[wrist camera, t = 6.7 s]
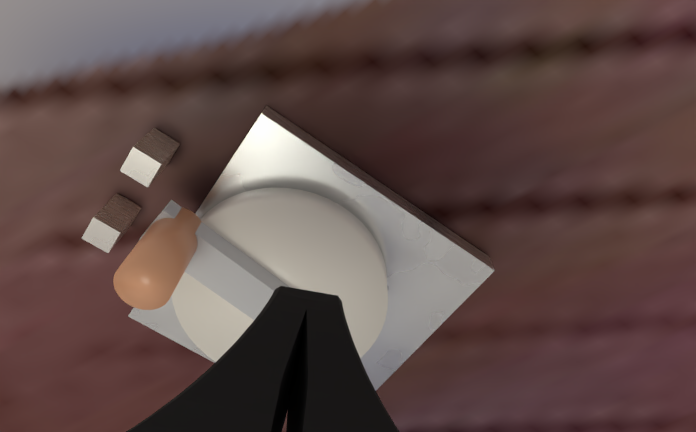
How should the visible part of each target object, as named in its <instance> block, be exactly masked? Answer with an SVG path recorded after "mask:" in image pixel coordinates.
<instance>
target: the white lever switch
mask: <svg viewBox="0 0 696 432" xmlns="http://www.w3.org/2000/svg"><path fill="white" fill-rule="evenodd" d="M113 281H114V288H115V290H116V292H117V294H118V295H119V297H120V298H121V299H122V300H123V301H124V302H126V303H127V304H129V305H130V306H132V307H135V308H138V309H142V310H154V309H158V308H160V307H162V306H164V305H165V304H166V303H167V302H168V301H169V299H170V297H171V296H172V302H173V306H174V309H175V312H176V315H177V318H178V320H179V322H180V324H181V326H182V328H183V329H184V331H185V332H186V334H187V335H188V337H189V338H190V339H191V340H192V341H193V343H194V344H195V345H196V346H197V347H198V348H199V349H200V350H201V351H202V352H203V353H204V354H206V355H207V356H208V357H210V358H211V359H212V360H214V361H215V362H216V361H217V360H218V359H219V358H220V357H221V356H222V355H223V354H224V353H225V352H226V351H227V350H228V349H229V348H230V347H231V346H232V345H233V344H234V343H235V342H236V341H237V340H238V339H239V338H240V337H241V335H242V334H243V333H244V332H245V331H246V329H247V328H248V327H249V326H250V325H251V324H252V322H253V321H254V320H255V319H256V317H257V316H258V315H259V314H260V312H261V311H262V310H263V308H264V307H265V305H266V304H267V302H268V301H269V299H270V298H271V296H272V294H273V292H274V290H275V289H276V288H278V287H280V286H285V287H291V288H297V289H302V290H308V291H314V292H320V293H326V294H331V295H337V296H338V297H339V298H340V299H341V301H342V305H343V310H344V314H345V318H346V321H347V324H348V327H349V330H350V333H351V336H352V339H353V342H354V344H355V347H356V349H357V352H358V354H359V356H360V358H361V357H362V356H363V355H364V354H365V353H366V352H367V351H368V350H369V349H370V348H371V346H372V345H373V344H374V342H375V341H376V339H377V338H378V336H379V334H380V332H381V330H382V327H383V325H384V322H385V319H386V314H387V309H388V288H387V275H386V266H385V263H384V259H383V255H382V253H381V251H380V248H379V246H378V244H377V242H376V241H375V239H374V237H373V236H372V234H371V233H370V232H369V230H368V229H367V228H366V227H365V225H364V224H363V223H362V222H361V221H360V220H359V219H358V218H357V217H355V216H354V215H353V214H352V213H351V212H349V211H348V210H347V209H345V208H344V207H342V206H341V205H339V204H337V203H335V202H333V201H332V200H330V199H328V198H325V197H323V196H320V195H318V194H315V193H311V192H308V191H304V190H299V189H292V188H275V187H271V188H262V189H255V190H251V191H246V192H243V193H240V194H237V195H235V196H232V197H230V198H228V199H226V200H224V201H222V202H220V203H219V204H217V205H216V206H215V207H213V208H212V209H210V210H209V211H208V212H207V213H206V214H205V215H204V216H203V217H202V218H201V219H199V217H198V216H197V215H196V214H195V213H193V212H192V211H190V210H188V209H186V208H182V207H181V206H179V205H178V204H177V203H175V202H174V201H173V200H171V201H170V202H169V203H168V204H167V206H166V207H165V208H164V209H163V210H162V212H161V213H160V214H159V215H158V216H157V218H156V219H155V220H154V221H153V222H152V224H151V225H150V226H149V227H148V229H147V230H146V231H145V233H144V234H143V235H142V236H141V238H140V239H139V242H138V243H137V244H136V246H135V247H134V248H133V250H132V251H131V252H130V254H129V255H128V256H127V258H126V259H125V260H124V262H123V263H122V264H121V266H120V267H119V268H118V270H117V271H116V273H115V275H114V280H113Z"/></svg>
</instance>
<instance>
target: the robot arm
mask: <svg viewBox="0 0 696 432" xmlns="http://www.w3.org/2000/svg"><path fill="white" fill-rule="evenodd" d="M287 410H288V416H287V430H286V432H399V430H398V429H397V427H396V426H395V424H394V422H393V421H392V419H391V418H390V416H389V414H388V413H387V411H386V409H385V407H384V406H383V404H382V402H381V400H380V398H379V397H378V395H377V393H376V391H375V389H374V387H373V385H372V383H371V381H370V379H369V377H368V375H367V373H366V370H365V368H364V366H363V364H362V361H361V359H360V356H359V354H358V352H357V349H356V347H355V344H354V342H353V339H352V336H351V333H350V330H349V327H348V324H347V321H346V318H345V314H344V310H343V305H342V301H341V299H340V298H339V297H338V296H337V295H331V294H326V293H320V292H314V291H308V290H302V289H297V288H291V287H285V286H280V287H278V288H276V289H275V290H274V292H273V294H272V296H271V298H270V299H269V301H268V302H267V304H266V305H265V307H264V308H263V310H262V311H261V312H260V314H259V315H258V316H257V317H256V319H255V320H254V321H253V322H252V324H251V325H250V326H249V327H248V328H247V329H246V331H245V332H244V333H243V334H242V335H241V337H240V338H239V339H238V340H237V341H236V342H235V343H234V344H233V345H232V346H231V347H230V348H229V349H228V350H227V351H226V352H225V353H224V354H223V355H222V356H221V357H220V358H219V359H218V360H217V361H216V362H215V363H214V364H213V365H212V366H211V367H210V368H209V369H208V370H207V371H206V372H205V373H204V374H203V375H202V376H200V377H199V378H198V379H197V380H196V381H195V382H194V383H192V384H191V385H190V386H189V387H188V388H186V389H185V390H184V391H183V392H181V393H180V394H179V395H178V396H176V397H175V398H174V399H172V400H171V401H170V402H168V403H167V404H166V405H164V406H163V407H162V408H160V409H159V410H158V411H156V412H155V413H154V414H152V415H151V416H149V417H148V418H146V419H145V420H143V421H142V422H141V423H139V424H138V425H136V426H135V427H133V428H131V429H130V430H128V431H126V432H282V428H283V425H284V421H285V417H286V414H287Z"/></svg>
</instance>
